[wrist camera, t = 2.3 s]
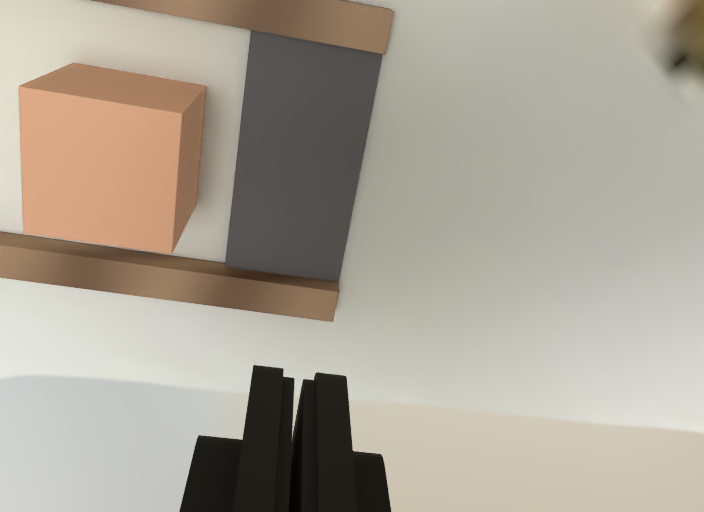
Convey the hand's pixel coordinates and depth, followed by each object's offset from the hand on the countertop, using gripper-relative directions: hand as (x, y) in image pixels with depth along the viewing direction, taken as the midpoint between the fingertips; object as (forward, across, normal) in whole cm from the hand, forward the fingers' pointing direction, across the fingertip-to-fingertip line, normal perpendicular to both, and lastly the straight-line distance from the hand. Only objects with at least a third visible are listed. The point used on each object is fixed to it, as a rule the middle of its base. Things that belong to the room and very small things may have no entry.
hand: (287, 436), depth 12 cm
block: (+17, +7, 0) cm, 18 cm away
